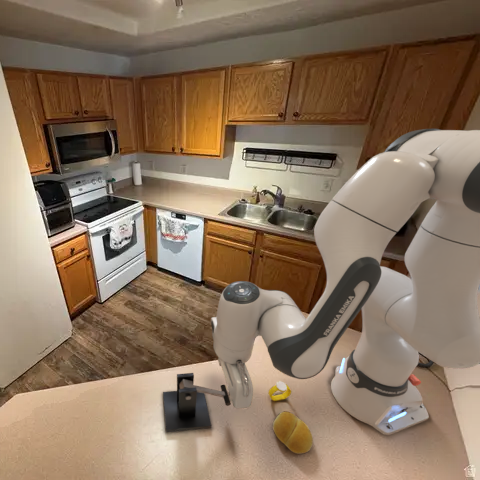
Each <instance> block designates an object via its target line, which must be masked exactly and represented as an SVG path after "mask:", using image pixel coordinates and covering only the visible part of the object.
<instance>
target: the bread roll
mask: <svg viewBox="0 0 480 480" xmlns="http://www.w3.org/2000/svg"><path fill="white" fill-rule="evenodd" d="M271 426H272V429H273V431H274V434H275V436H276V437H277V439H278V440H279V441H280V442H281V443H282V444H284V445H285V446H286V448H288V449H289V451H291V452H292V453H294V454H305V453H308V452H310V451H311V449H312V446H313V443H314V442H313V441H314V440H313V435H312V432H311V430H310V428H309V426H308V425H307V423H305V422H304V420H302V419H300V418H299V417H298V416H296V414H294V413H293V412H291V411H282V412H280V413H278V415H277V416H276V418H275V419H274V420H273V422H272V424H271Z"/></svg>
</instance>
